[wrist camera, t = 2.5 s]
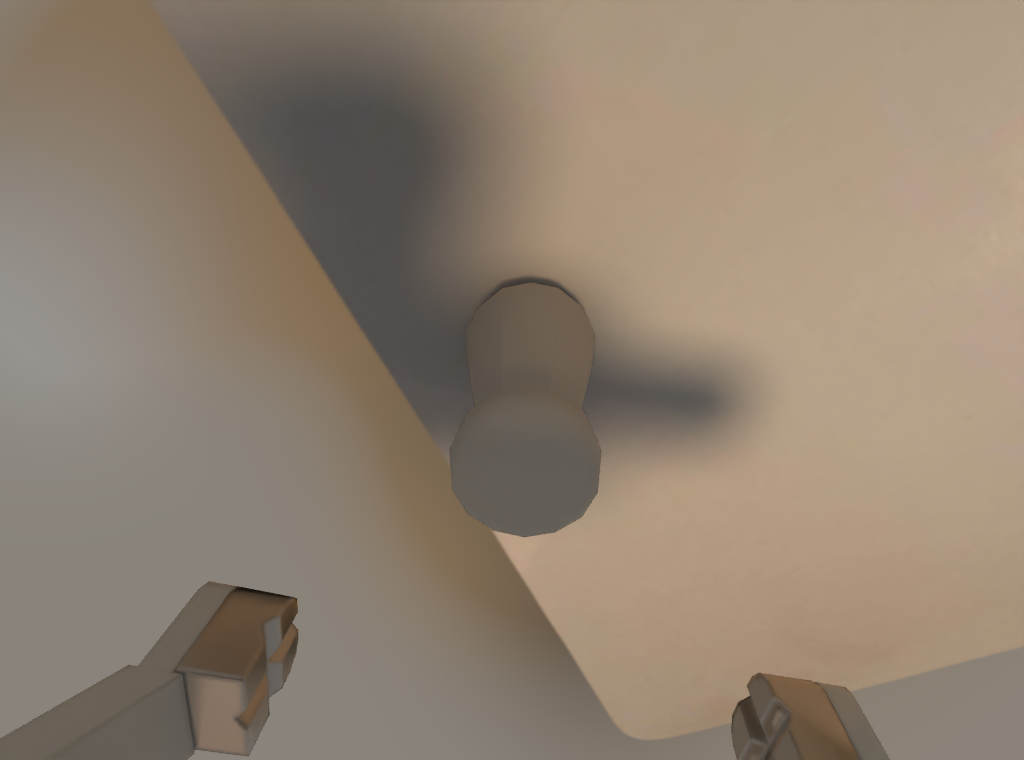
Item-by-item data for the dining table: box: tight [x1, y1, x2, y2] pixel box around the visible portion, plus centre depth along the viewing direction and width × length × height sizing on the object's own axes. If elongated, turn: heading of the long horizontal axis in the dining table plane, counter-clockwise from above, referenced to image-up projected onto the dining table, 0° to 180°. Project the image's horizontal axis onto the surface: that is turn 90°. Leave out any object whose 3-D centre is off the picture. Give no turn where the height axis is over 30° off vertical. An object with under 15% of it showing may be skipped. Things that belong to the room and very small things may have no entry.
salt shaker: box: [450, 282, 601, 537], centre depth 20 cm, size 6×6×13 cm
